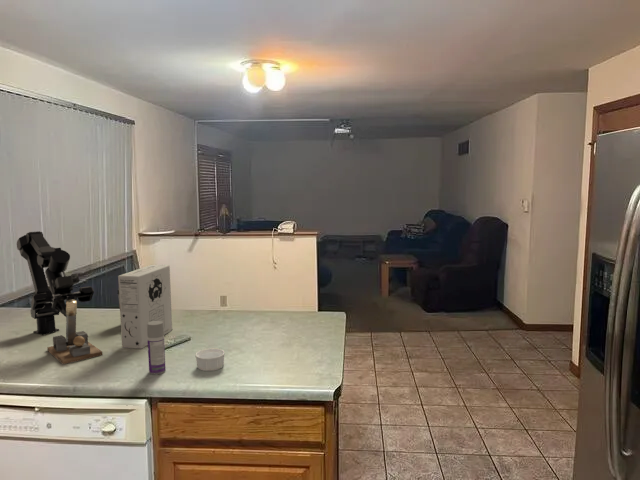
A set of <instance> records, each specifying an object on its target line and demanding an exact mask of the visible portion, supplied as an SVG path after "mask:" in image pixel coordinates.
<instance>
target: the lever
mask: <svg viewBox="0 0 640 480" xmlns="http://www.w3.org/2000/svg"><path fill="white" fill-rule="evenodd" d="M65 305H66V317H65V319H66V321H65V322H66V323H65V328H66V329H65V338H66V346H70V345H74V343H73V340H74V338H75V337H76V332H77V313H78V312H77V310H78V301H77V300H73V299H71V300H67V301H66V300H65Z"/></svg>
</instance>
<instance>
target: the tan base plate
mask: <svg viewBox="0 0 640 480" xmlns="http://www.w3.org/2000/svg"><path fill="white" fill-rule="evenodd" d="M52 343H53V344H52V345H53V346H47V348H46V349H47V352H48V353H50V354H51V355H52V356H53V357H54V358H56V359H57V361H59V362H60V363H61V364H62V365H65V364H70V363H74V362H78V361H82V360H86V359H87V360H88V359H91V358H96V357H100V356H103V351H102V350H101V349H100V348H98V347H96V346H95V345H93V343H90V342H89V339H88V332H86V331H84V330H81V331H76V337H75V338H74V340H73V343H74V345H70V346H66V336H64V335H63V334H62V335H61V334H60V335H55V336H52Z"/></svg>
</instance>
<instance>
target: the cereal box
mask: <svg viewBox="0 0 640 480" xmlns="http://www.w3.org/2000/svg"><path fill="white" fill-rule="evenodd" d="M170 268H171V267H170V265H166V264H150V265H147V266H144V267H143V266H142V267H141V268H137V269H135V270H132V271H130V272H126V273H122V274H120V275H117V278H118V281H117V282H118V290H119V297H118V301H119V300H120V307H119V314H120V315H119V316H120V329H121V330H120V333H121V347H122V348H127V349H144V348H145V347H148V335H147V323H148V322H151V321H162V322H163V330H164V336H165V335H167V334H169V333H170V332H171V331H173V316H172V312H173V311H172V293H171V269H170Z"/></svg>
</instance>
